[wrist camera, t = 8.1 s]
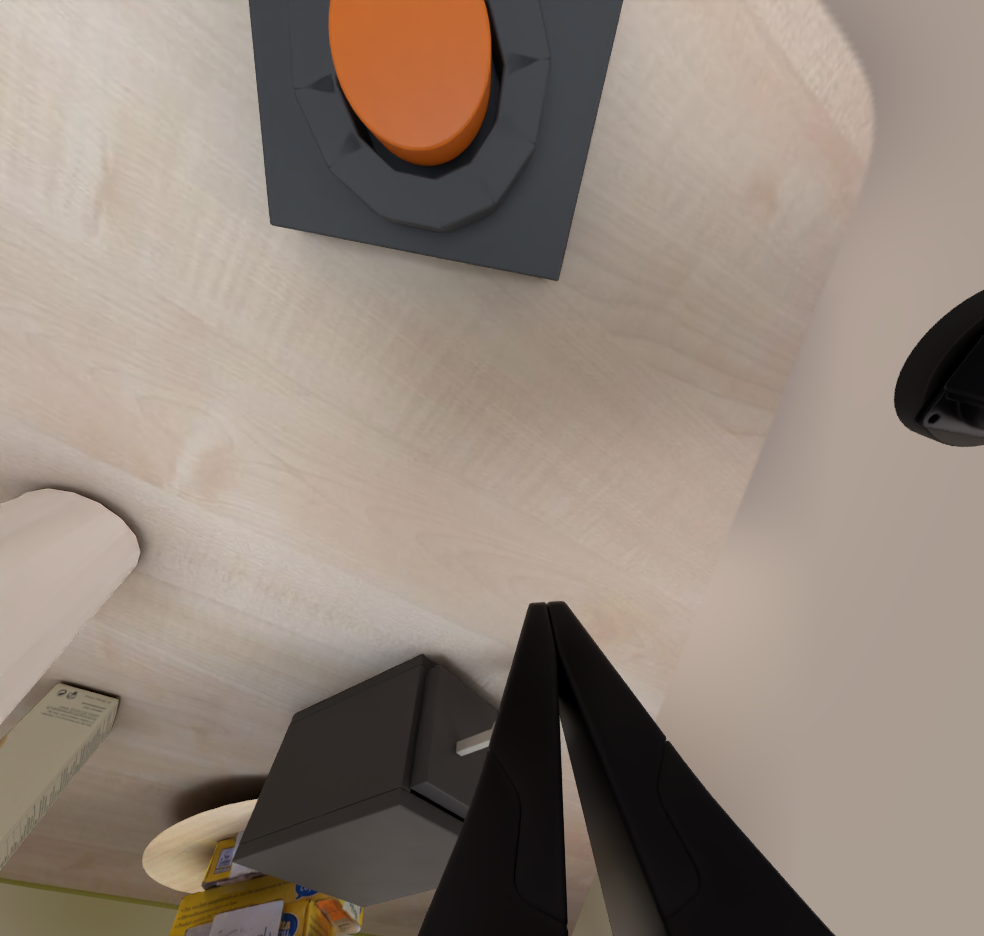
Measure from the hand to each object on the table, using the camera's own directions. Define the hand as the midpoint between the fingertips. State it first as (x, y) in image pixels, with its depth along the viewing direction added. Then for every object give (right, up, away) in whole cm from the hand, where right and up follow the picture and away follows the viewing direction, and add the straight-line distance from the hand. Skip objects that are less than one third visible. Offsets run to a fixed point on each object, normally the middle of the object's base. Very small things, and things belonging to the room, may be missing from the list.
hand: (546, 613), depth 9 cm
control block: (-3, +15, +4) cm, 16 cm away
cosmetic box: (-34, -16, +21) cm, 43 cm away
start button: (-3, +14, +1) cm, 14 cm away
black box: (-9, -18, +22) cm, 30 cm away
